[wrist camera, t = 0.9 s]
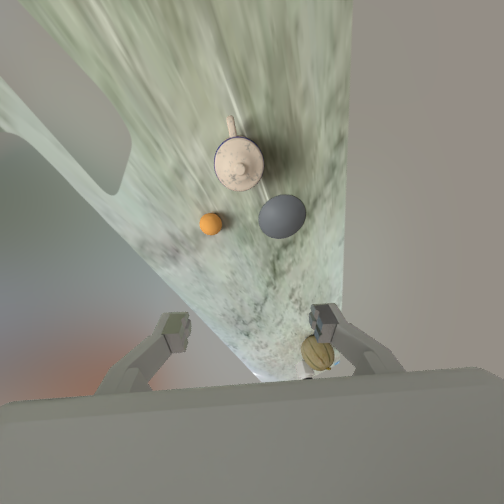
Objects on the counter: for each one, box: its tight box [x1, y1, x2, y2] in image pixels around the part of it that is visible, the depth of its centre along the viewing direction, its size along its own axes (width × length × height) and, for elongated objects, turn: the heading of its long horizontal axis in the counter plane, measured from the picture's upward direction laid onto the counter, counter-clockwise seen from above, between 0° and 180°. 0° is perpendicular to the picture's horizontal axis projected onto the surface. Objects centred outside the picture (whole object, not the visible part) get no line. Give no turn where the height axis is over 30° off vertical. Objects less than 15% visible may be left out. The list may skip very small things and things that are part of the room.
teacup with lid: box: [214, 116, 264, 191], centre depth 33 cm, size 12×9×12 cm
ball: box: [200, 213, 222, 235], centre depth 45 cm, size 6×6×6 cm
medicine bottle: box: [295, 360, 314, 380], centre depth 104 cm, size 7×7×12 cm
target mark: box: [259, 195, 306, 239], centre depth 49 cm, size 13×13×1 cm
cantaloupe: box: [301, 336, 334, 371], centre depth 84 cm, size 15×15×15 cm
